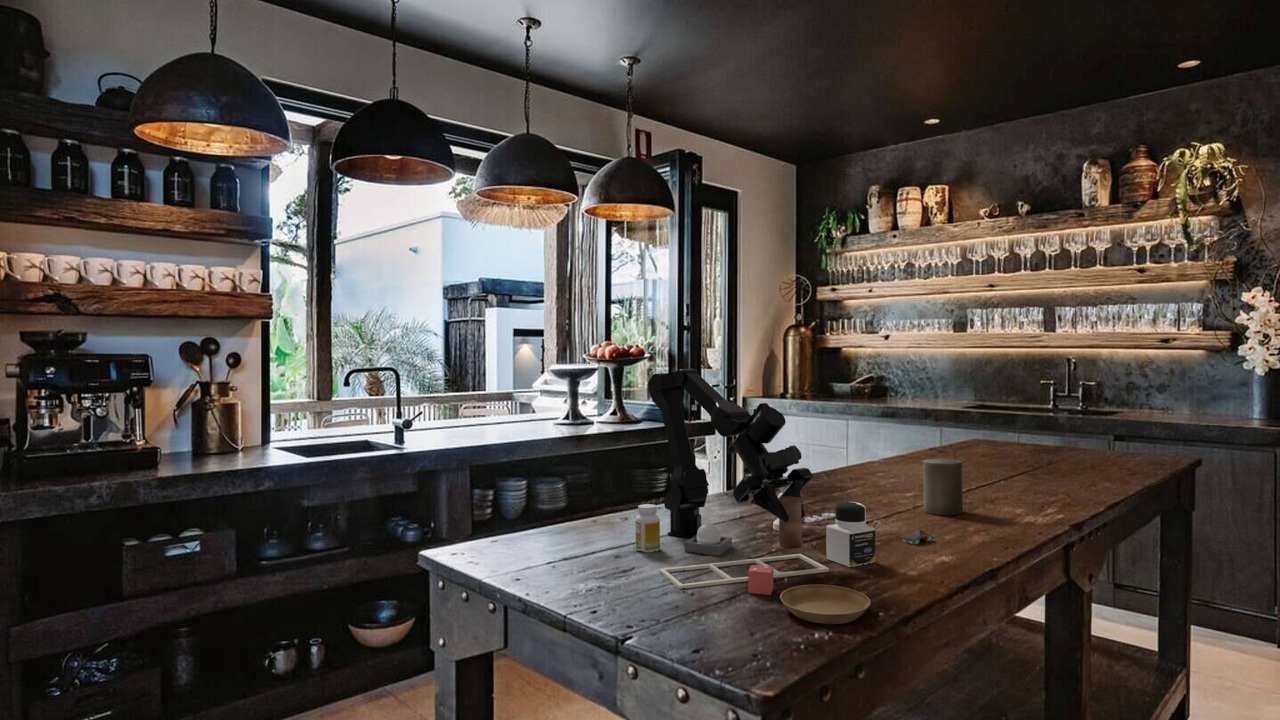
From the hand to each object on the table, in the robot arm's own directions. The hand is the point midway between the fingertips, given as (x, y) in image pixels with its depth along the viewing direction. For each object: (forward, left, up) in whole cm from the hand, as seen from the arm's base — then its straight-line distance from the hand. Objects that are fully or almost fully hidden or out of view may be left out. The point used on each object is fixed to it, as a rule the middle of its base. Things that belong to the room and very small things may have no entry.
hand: (795, 518), depth 150 cm
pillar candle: (+22, +66, -10) cm, 70 cm away
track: (-9, -7, -10) cm, 15 cm away
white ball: (-21, +6, -10) cm, 24 cm away
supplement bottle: (-33, 0, -10) cm, 35 cm away
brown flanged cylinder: (-1, +1, -7) cm, 7 cm away
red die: (-2, -16, -10) cm, 19 cm away
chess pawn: (-11, +30, -10) cm, 33 cm away
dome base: (-21, +6, -10) cm, 24 cm away
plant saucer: (+11, -22, -10) cm, 27 cm away
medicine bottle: (+9, +10, -10) cm, 17 cm away
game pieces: (+2, +42, -11) cm, 43 cm away
